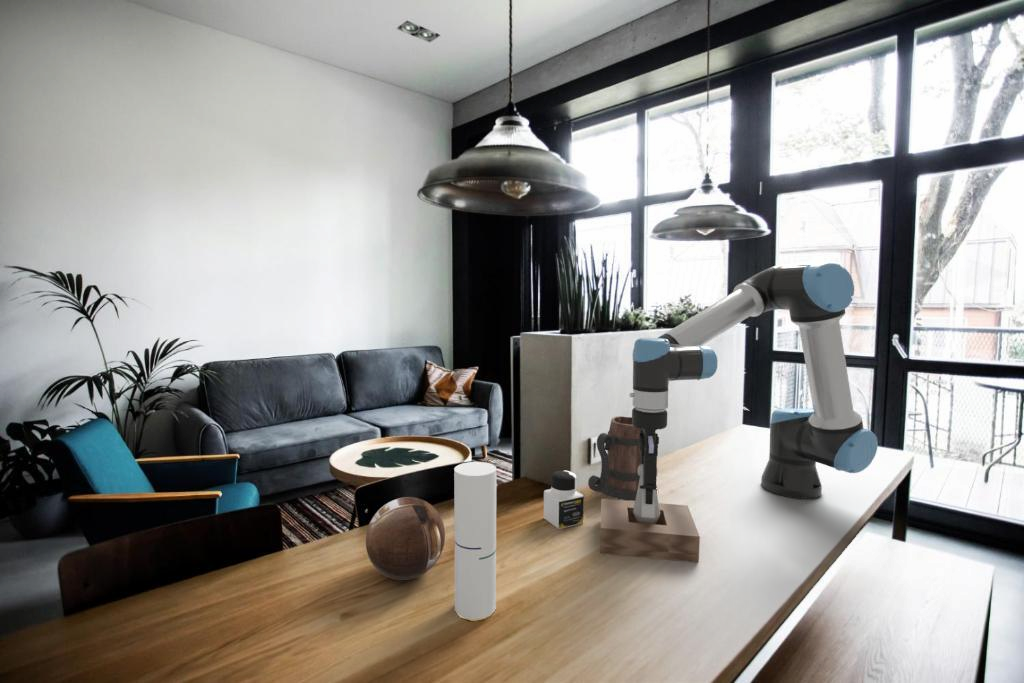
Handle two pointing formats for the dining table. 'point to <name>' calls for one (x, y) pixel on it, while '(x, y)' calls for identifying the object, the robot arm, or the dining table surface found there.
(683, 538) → the walnut socket block
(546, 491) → the medicine bottle
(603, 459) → the tankard
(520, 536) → the dining table surface
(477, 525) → the cylindrical container
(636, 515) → the salt shaker
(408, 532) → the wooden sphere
